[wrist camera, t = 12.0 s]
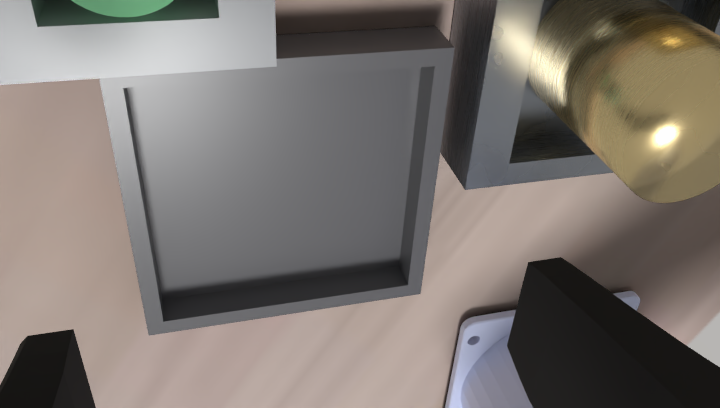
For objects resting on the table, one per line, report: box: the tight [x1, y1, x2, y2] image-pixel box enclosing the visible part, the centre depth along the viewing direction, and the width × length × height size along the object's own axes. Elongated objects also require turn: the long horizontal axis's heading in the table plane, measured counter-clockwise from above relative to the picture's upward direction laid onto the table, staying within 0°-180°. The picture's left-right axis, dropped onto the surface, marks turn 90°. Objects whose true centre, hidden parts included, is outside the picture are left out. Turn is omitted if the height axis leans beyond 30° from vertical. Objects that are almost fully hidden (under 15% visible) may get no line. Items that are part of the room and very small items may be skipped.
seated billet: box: [528, 0, 720, 203], centre depth 18 cm, size 4×4×5 cm
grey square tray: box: [99, 26, 455, 335], centre depth 20 cm, size 9×9×2 cm
